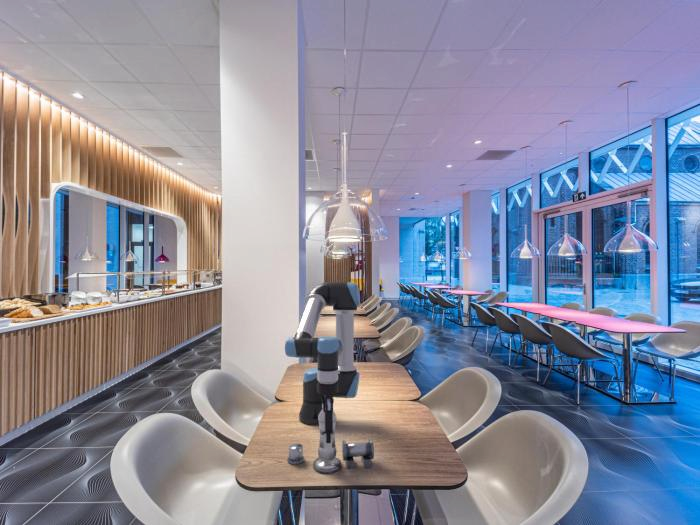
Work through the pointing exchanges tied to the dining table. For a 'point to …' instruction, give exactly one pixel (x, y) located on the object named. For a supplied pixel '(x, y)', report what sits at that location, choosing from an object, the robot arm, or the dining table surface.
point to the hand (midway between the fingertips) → (327, 446)
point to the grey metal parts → (347, 457)
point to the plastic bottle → (323, 455)
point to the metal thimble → (295, 454)
